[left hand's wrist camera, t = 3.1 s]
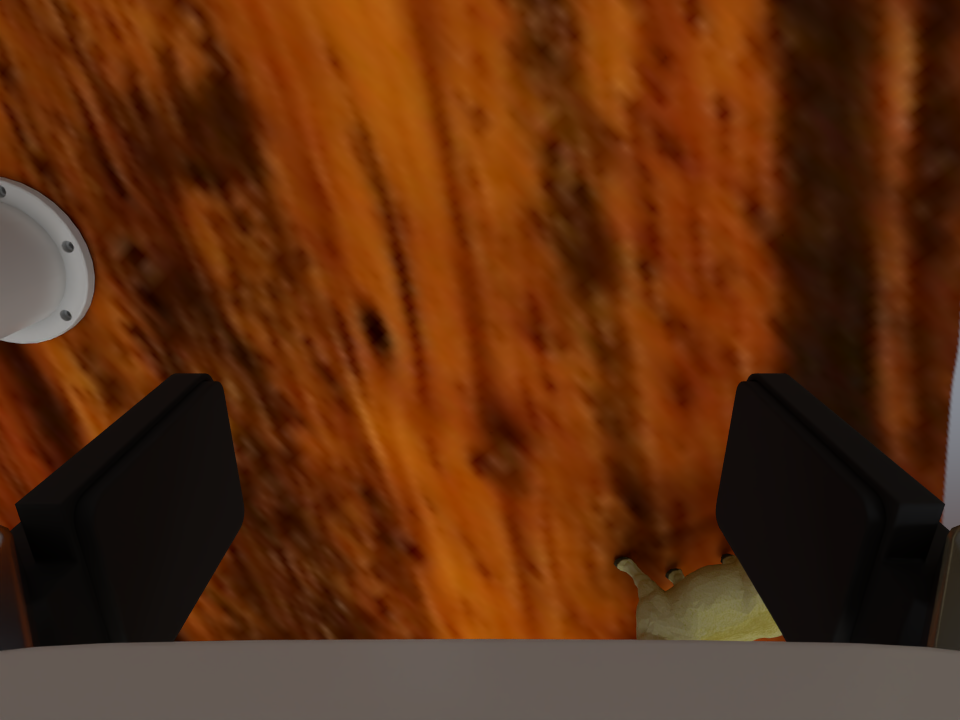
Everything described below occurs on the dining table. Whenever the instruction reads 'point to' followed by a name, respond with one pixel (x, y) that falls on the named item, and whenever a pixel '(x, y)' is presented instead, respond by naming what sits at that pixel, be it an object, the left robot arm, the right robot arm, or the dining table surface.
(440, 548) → the dining table surface
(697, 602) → the toy
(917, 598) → the left robot arm
